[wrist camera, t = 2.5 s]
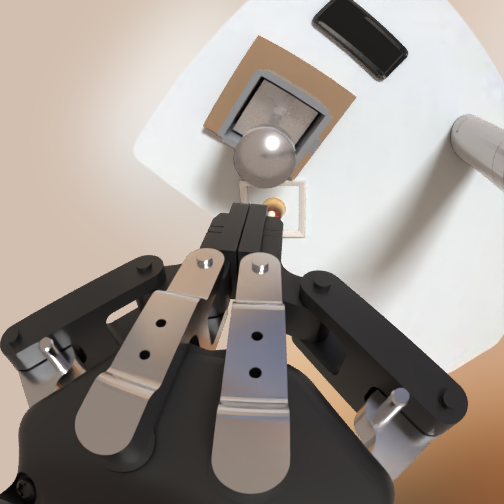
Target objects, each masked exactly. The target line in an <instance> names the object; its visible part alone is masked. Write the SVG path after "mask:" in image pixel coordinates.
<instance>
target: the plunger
mask: <svg viewBox="0 0 504 504" xmlns="http://www.w3.org/2000/svg"><path fill="white" fill-rule="evenodd" d="M317 114H318V112H317V111H315V110H314V109H312V108H311V107H309V106H308V105H306V104H305V103H303V102H302V101H300V100H298V99H297V98H295V97H294V96H292V95H291V94H289V93H287V92H286V91H284V90H282V89H281V88H279V87H277V86H276V85H274V84H272V83H271V82H269V81H267V80H265V79H264V81H263V82H262V84H261V85H260V87H259V88H258V90H257V91H256V93H255V94H254V96H253V98H252V99H251V101H250V102H249V104H248V105H247V107H246V109H245V110H244V112H243V113H242V115H241V117H240V118H239V120H238V121H237V123H236V125H235V126H234V128H233V130H235V131H236V132H238V133H240V134H242V135H243V136H242V138H241V139H240V141H239V143H238V144H237V146H236V148H235V151H234V158H233V159H234V166H235V168H236V171H237V173H238V174H239V175H240V177H241V178H242V179H243V180H244V181H246V182H247V183H249V184H251V185H253V186H255V187H259V188H272V187H276V186H278V185H280V184H282V183H284V182H285V181H286V180H287V179H288V178H289V177H290V176H291V174H292V173H293V171H294V168H295V163H296V156H295V144H296V143H297V142H298V140H299V139H300V137H301V136H302V135H303V133H304V132H305V131H306V129H307V128H308V126H309V125H310V124H311V122H312V121H313V120H314V118H315V117H316V116H317Z"/></svg>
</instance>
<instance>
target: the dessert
mask: <svg viewBox="0 0 504 504" xmlns="http://www.w3.org/2000/svg"><path fill="white" fill-rule="evenodd" d="M247 186H253V185H251V184H249V183H247V182H246V181H239V189H240V200H241V203H243V204H248V194H247ZM278 186H299V230H283V236H282V237H305V220H306V180H286V181H285V182H284V183H282V184H280V185H278ZM262 205H268V215H267V216H272V217H279V218H280V219H281V218H282V216H283V215H284V213H285V211H286V207H285V204H284V203H283V202H282V201H281V200H279V199H277V198H269V199H267V200H266V201H264V203H263V204H262Z"/></svg>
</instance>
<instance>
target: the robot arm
mask: <svg viewBox="0 0 504 504" xmlns="http://www.w3.org/2000/svg"><path fill="white" fill-rule="evenodd" d="M451 144H452V147H453V150H454V151H455V153H456V154H457V155H458V156H459V157H460V158H461V159H463V160H464V161H465V162H467V163H468V164H469V165H471V166H472V167H473V168H475V169H476V170H477V171H478V172H480V173H481V174H482V175H483V176H485V177H486V178H487V179H488V180H490V181H491V182H492V183H493V184H494V185H496V186H497V187H498V188H499V189H500V190H502V191H503V192H504V129H502V128H500V127H498V126H496V125H493V124H491V123H489V122H487V121H485V120H483V119H481V118H478V117H476V116H474V115H463V116H461V117H460V118H458V119H457V121H456V122H455V123H454V125H453V128H452V131H451ZM267 215H268V205H260V204H251V206H250V204H243V203H233V205H232V207H231V210H230V212H229V214H227V213H220V214H219V215H218V216H216V217H215V218H214V219H213V220H212V223H211V225H210V227H209V229H208V232H207V233H206V236H205V238H204V240H203V242H202V244H201V247H200V249H198V250H195V251H193V252H191V253H190V254H189V255H188V256H187V257H186V259H185V260H184V262H183V263H182V264H179V265H171V266H164V265H163V261H162V260H161V259H160V258H159V257H157V256H153V255H145V256H141V257H138V258H136V259H134V260H132V261H130V262H128V263H126V264H124V265H122V266H120V267H118V268H116V269H114V270H112V271H110V272H108V273H107V274H104V275H103V276H101V277H99V278H97V279H95V280H93V281H91V282H89V283H88V284H86V285H84V286H82V287H80V288H78V289H76V290H74V291H73V292H71V293H69V294H67V295H65V296H63V297H62V298H60V299H58V300H56V301H54V302H53V303H51V304H49V305H47V306H45V307H44V308H42V309H40V310H38V311H37V312H35V313H33V314H31V315H30V316H28V317H26V318H24V319H23V320H21V321H19V322H18V323H16V324H14V325H13V326H11V327H9V328H8V329H7V330H6V331H5V333H4V334H3V336H2V338H1V342H0V348H1V351H2V352H3V354H4V355H5V356H6V357H7V358H8V359H9V360H10V362H11V363H12V364H13V366H14V367H15V368H16V370H17V371H18V372H19V375H20V379H21V382H22V386H23V389H24V392H25V395H26V398H27V401H28V405H29V407H30V409H29V410H28V411H27V412H26V413H25V415H24V417H23V418H22V421H21V423H20V427H19V434H18V435H19V466H18V473H17V476H16V479H15V481H14V482H13V484H12V485H11V486H10V487H9V488H8V489H6V490H5V491H4V492H3V493H1V494H0V504H394V496H395V492H394V486H393V481H394V480H395V479H396V478H397V477H398V476H399V475H400V474H401V473H402V472H403V471H404V470H405V469H406V468H407V467H408V466H409V465H410V464H411V463H412V462H413V461H414V460H415V459H416V458H417V457H418V455H419V454H420V453H421V452H422V451H423V450H424V449H425V448H426V447H427V445H428V444H429V443H430V442H431V441H432V440H434V439H435V438H437V437H438V436H440V435H441V434H442V433H444V432H445V431H447V430H448V429H450V428H451V427H452V426H454V425H455V424H456V423H458V422H459V421H460V420H461V419H462V418H463V417H464V416H465V414H466V412H467V407H468V401H467V396H466V394H465V392H464V390H463V389H462V388H461V386H460V385H458V384H457V383H456V382H455V381H454V380H453V379H452V378H451V377H450V376H449V375H448V374H447V373H446V372H445V371H444V370H443V369H441V368H440V367H439V366H438V365H437V364H436V363H435V362H434V361H433V360H432V359H431V358H429V357H428V356H427V355H426V354H425V353H424V352H423V351H422V350H421V349H420V348H418V347H417V346H416V345H415V344H414V343H413V342H412V341H411V340H410V339H408V338H407V337H406V336H405V335H404V334H403V333H402V332H401V331H399V330H398V329H397V328H396V327H395V326H394V325H393V324H391V323H390V322H389V321H388V320H387V319H386V318H385V317H383V316H382V315H381V314H380V313H379V312H378V311H377V310H375V309H374V308H373V307H372V306H371V305H370V304H368V303H367V302H366V301H365V300H364V299H363V298H361V297H360V296H359V295H358V294H357V293H356V292H354V291H353V290H352V289H351V288H350V287H348V286H347V285H346V284H345V283H344V282H343V281H341V280H340V279H339V278H338V277H336V276H335V275H334V274H332V273H329V272H326V271H311V272H308V273H307V274H305V275H304V276H303V277H300V276H297V275H294V274H292V273H290V272H288V271H287V270H286V269H285V268H284V267H283V265H282V263H281V251H282V236H283V222H282V221H281V219H280V218H279V217H272V216H267ZM230 299H235V302H233V304H232V311H231V318H230V327H229V334H228V343H227V349H226V350H216V347H217V344H218V341H219V338H220V336H221V333H222V330H223V326H224V324H225V321H226V318H227V315H228V305H229V302H230ZM134 300H136V302H137V305H138V308H136V309H135V310H133V311H131V312H129V313H127V314H126V315H124V316H122V317H121V318H119V319H117V320H115V321H114V322H112V323H109V324H106V320H107V318H108V316H109V315H110V314H112V313H113V312H115V311H116V310H119V309H120V308H122V307H124V306H126V305H127V304H129V303H131V302H133V301H134ZM286 334H288V335H290V336H292V340H293V342H294V344H295V345H296V346H297V347H298V348H299V350H300V351H301V352H302V353H303V354H304V355H305V356H306V357H307V359H308V360H309V361H310V362H311V363H312V364H313V365H314V366H315V367H316V368H317V370H318V371H319V372H320V373H321V374H322V375H323V376H324V377H325V379H326V380H327V381H328V382H329V383H330V384H331V385H332V386H333V387H334V388H335V390H336V391H337V392H338V393H339V394H340V395H341V396H342V397H343V398H344V399H345V401H346V402H347V403H348V404H349V405H350V406H351V407H352V408H353V409H354V410H355V411H356V412H357V414H356V416H355V420H354V426H355V430H356V433H357V434H358V436H359V437H360V439H361V441H362V442H361V441H360V440H359V438H358V437H357V436H356V435H355V434H354V432H353V431H352V430H351V429H350V428H349V426H348V425H347V424H346V423H345V422H344V420H343V419H342V418H341V417H340V416H339V414H338V413H337V412H336V411H335V410H334V408H333V407H332V406H331V405H330V403H329V402H328V401H327V400H326V399H325V397H324V396H323V395H322V394H321V393H320V391H319V390H318V389H317V388H316V386H315V385H314V384H313V383H312V381H310V379H309V378H308V377H307V376H306V375H304V374H303V373H302V372H300V371H299V370H298V369H296V368H294V367H292V366H291V365H289V364H287V353H286Z"/></svg>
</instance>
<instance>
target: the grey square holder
mask: <svg viewBox="0 0 504 504" xmlns="http://www.w3.org/2000/svg"><path fill="white" fill-rule="evenodd" d="M264 79H265V80H267V81H269V82H271V83H272V84H274V85H276V86H277V87H279V88H281V89H282V90H284V91H286V92H287V93H289V94H291V95H292V96H294V97H295V98H297V99H298V100H300V101H302V102H303V103H305V104H306V105H308V106H309V107H311V108H312V109H314V110H315V111H317V112H318V114H317V116H316V117H315V118H314V120H313V121H312V122H311V124H310V125H309V126H308V128H307V129H306V131H305V132H304V133H303V135H302V136H301V137H300V139H299V140H298V142H297V143H296V144H295V156H296V163H295V168H294V171H293V173H292V174H291V176H290V177H291V178H293V179H295V178H296V176H297V175H298V174H299V172H300V171H301V170H302V168H303V167H304V166H305V164H306V163H307V162H308V160H309V159H310V158H311V156H312V155H313V154H314V152H315V151H316V150H317V148H318V147H319V146H320V144H321V143H322V142H323V140H324V139H325V138H326V136H327V135H328V134H329V133H330V131H331V130H332V129H333V127H334V126H335V125H336V123H337V122H338V121H339V119H340V118H341V117H342V115H343V114H344V113H345V111H346V110H347V109H348V108H349V106H350V105H351V104H352V102H353V101H354V100H355V98H356V97H355V96H354V95H353V94H352V93H350V92H349V91H347V90H346V89H345V88H343V87H342V86H341V85H339V84H338V83H336V82H335V81H334V80H332V79H331V78H329V77H328V76H326V75H325V74H323V73H322V72H320V71H319V70H317V69H316V68H314V67H313V66H311V65H310V64H308V63H306V62H305V61H303V60H302V59H300V58H298V57H297V56H295V55H293V54H292V53H290V52H288V51H286V50H285V49H283V48H281V47H279V46H278V45H276V44H274V43H272V42H270V41H268V40H267V39H265V38H263V37H261V36H259V35H258V37H257V38H256V40H255V41H254V43H253V44H252V46H251V47H250V49H249V50H248V52H247V53H246V55H245V56H244V58H243V59H242V61H241V62H240V64H239V66H238V67H237V69H236V70H235V72H234V74H233V75H232V77H231V78H230V80H229V82H228V83H227V85H226V87H225V88H224V90H223V92H222V93H221V95H220V97H219V98H218V100H217V102H216V104H215V105H214V107H213V109H212V111H211V112H210V114H209V116H208V118H207V120H206V121H205V123H204V125H203V126H204V127H206V128H208V129H210V130H211V131H213V132H215V133H217V135H218V136H220V137H221V138H222V139H221V141H222V142H224V143H226V144H227V145H229V146H231V147H233V148H234V149H235V148H236V146H237V144H238V143H239V141H240V139H241V138H242V136H243V135H242V134H240V133H238V132H236V131H235V130H233V128H234V126H235V125H236V123H237V121H238V120H239V118H240V117H241V115H242V113H243V112H244V110H245V109H246V107H247V105H248V104H249V102H250V101H251V99H252V98H253V96H254V94H255V93H256V91H257V90H258V88H259V87H260V85H261V84H262V82H263V81H264Z"/></svg>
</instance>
